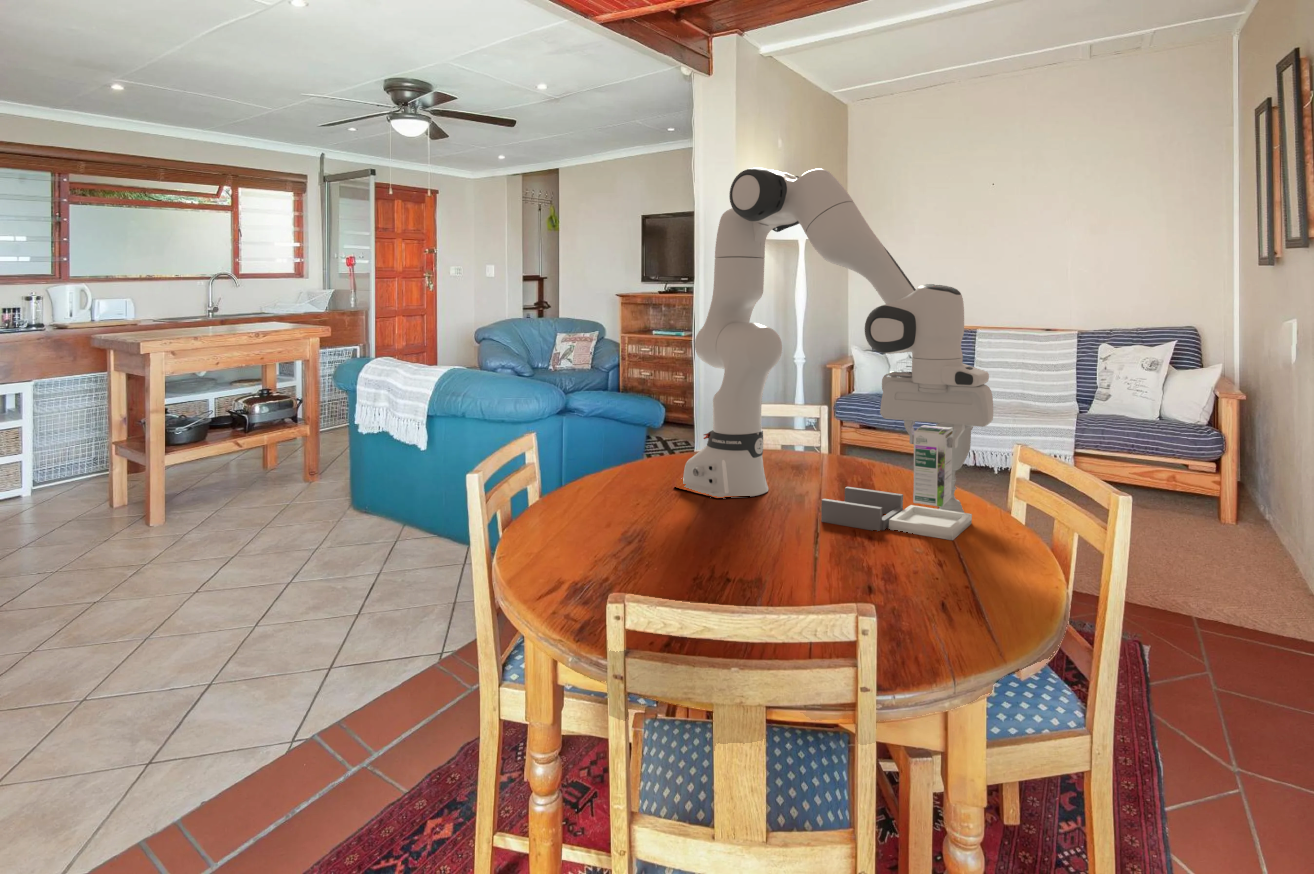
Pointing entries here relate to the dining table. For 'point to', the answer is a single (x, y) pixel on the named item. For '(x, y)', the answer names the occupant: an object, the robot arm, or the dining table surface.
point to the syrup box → (932, 465)
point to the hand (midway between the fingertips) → (933, 445)
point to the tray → (931, 522)
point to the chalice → (957, 463)
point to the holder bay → (862, 509)
